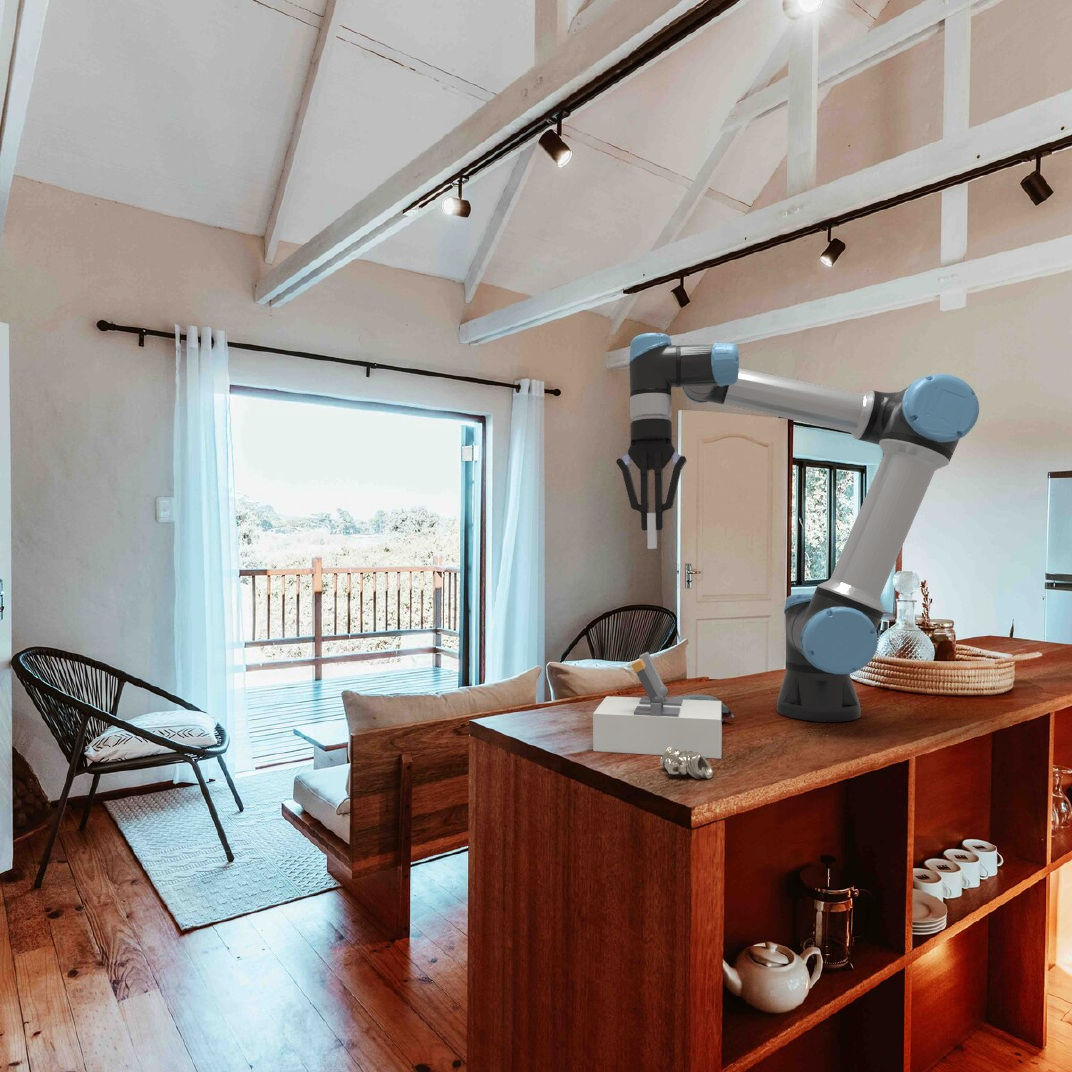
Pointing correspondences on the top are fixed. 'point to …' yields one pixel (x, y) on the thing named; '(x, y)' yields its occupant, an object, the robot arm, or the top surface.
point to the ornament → (686, 763)
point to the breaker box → (657, 723)
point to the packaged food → (725, 711)
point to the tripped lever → (647, 682)
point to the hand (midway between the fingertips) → (652, 548)
